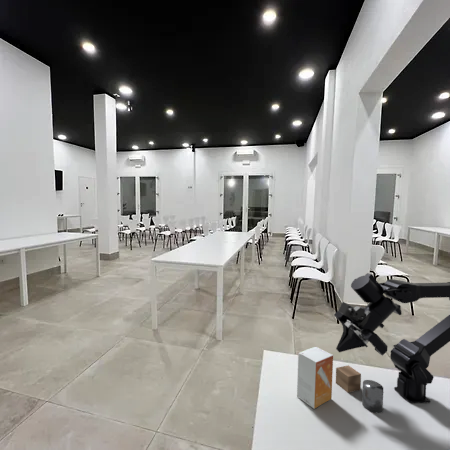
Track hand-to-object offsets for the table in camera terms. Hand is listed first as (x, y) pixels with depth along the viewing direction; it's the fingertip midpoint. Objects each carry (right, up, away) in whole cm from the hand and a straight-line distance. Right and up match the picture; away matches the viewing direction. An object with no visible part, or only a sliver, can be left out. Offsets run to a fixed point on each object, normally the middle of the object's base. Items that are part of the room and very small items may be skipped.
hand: (337, 350), depth 76 cm
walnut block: (+6, -14, +6) cm, 16 cm away
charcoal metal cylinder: (+8, -14, -3) cm, 17 cm away
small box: (-7, -14, 0) cm, 16 cm away
